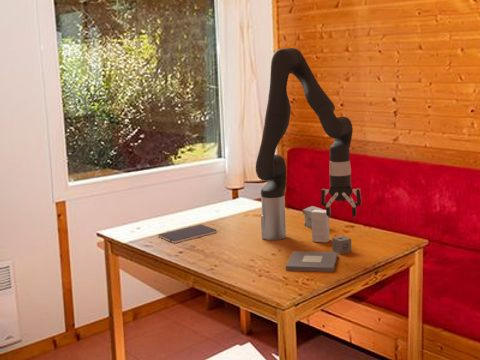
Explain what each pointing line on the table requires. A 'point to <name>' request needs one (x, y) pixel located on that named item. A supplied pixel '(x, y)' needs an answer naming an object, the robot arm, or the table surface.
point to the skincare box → (320, 226)
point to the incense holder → (309, 215)
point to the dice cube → (341, 244)
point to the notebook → (187, 233)
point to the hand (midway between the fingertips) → (341, 216)
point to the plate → (312, 261)
